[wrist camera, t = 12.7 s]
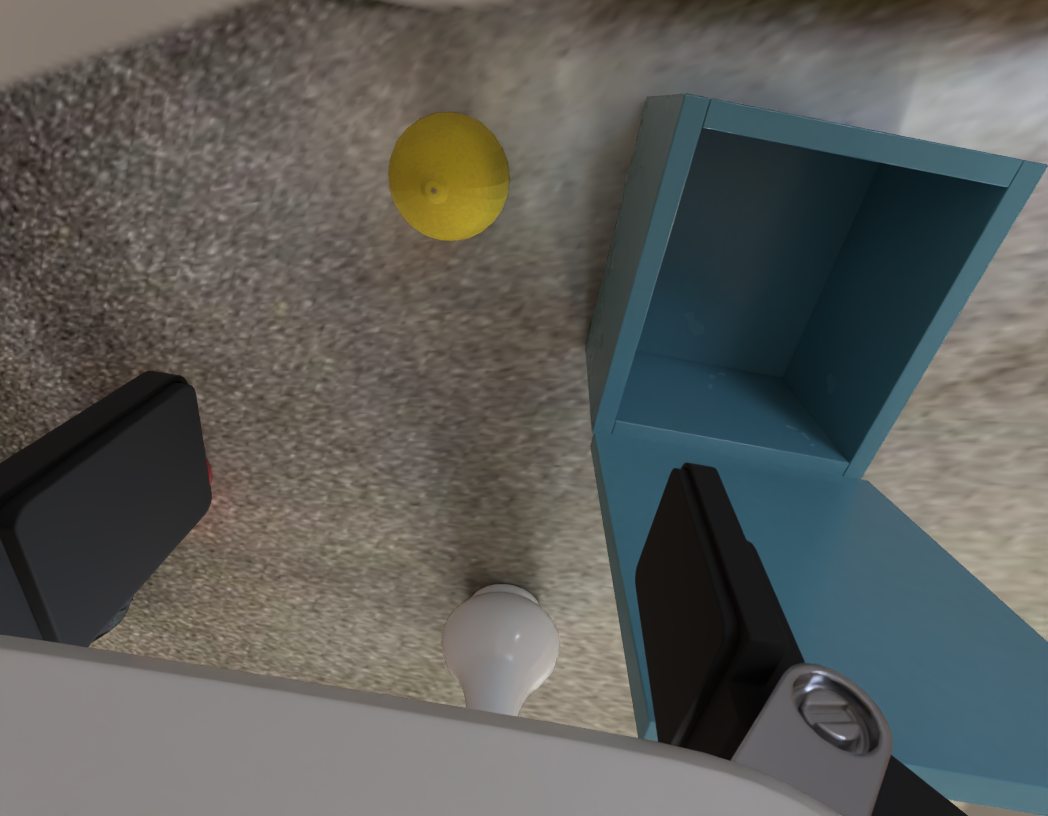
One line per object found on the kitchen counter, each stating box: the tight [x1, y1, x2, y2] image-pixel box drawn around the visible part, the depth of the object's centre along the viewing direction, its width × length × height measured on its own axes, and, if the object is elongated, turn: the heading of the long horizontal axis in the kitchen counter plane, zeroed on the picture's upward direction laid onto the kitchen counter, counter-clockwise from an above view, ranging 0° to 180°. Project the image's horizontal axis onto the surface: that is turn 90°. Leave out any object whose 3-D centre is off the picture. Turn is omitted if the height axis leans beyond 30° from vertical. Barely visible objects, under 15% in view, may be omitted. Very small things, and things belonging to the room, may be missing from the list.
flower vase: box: [441, 584, 560, 717], centre depth 35 cm, size 13×18×25 cm
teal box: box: [585, 94, 1048, 479], centre depth 26 cm, size 14×13×10 cm
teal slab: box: [591, 431, 1048, 816], centre depth 19 cm, size 15×13×6 cm
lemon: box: [388, 112, 510, 241], centre depth 26 cm, size 6×6×8 cm
